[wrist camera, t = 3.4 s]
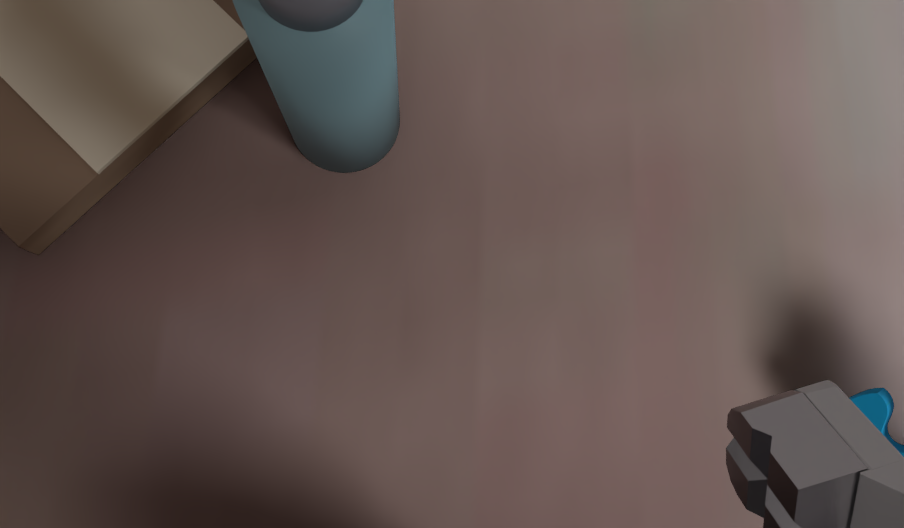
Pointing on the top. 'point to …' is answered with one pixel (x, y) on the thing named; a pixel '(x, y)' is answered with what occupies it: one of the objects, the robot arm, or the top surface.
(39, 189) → the floor panel
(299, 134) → the peg
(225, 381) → the top surface
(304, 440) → the top surface
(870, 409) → the gear
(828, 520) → the robot arm
